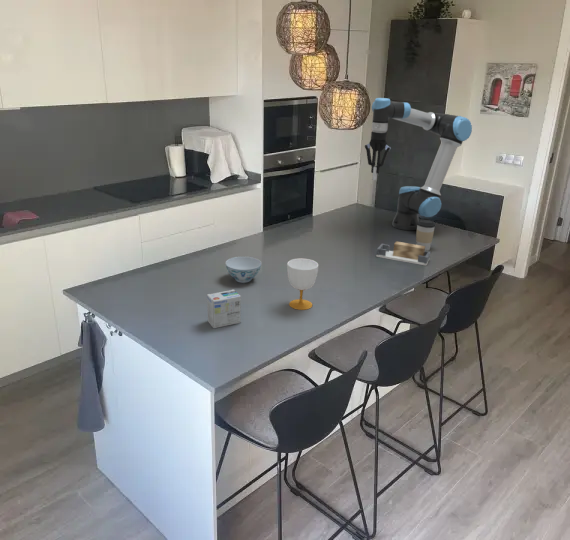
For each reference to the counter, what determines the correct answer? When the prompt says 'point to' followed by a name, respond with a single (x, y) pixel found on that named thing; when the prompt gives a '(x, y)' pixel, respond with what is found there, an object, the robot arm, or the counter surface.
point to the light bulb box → (224, 308)
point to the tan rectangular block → (408, 250)
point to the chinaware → (243, 268)
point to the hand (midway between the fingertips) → (374, 179)
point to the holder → (385, 253)
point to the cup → (301, 279)
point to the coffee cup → (425, 233)
